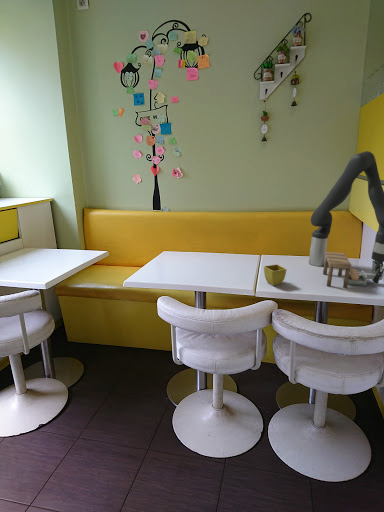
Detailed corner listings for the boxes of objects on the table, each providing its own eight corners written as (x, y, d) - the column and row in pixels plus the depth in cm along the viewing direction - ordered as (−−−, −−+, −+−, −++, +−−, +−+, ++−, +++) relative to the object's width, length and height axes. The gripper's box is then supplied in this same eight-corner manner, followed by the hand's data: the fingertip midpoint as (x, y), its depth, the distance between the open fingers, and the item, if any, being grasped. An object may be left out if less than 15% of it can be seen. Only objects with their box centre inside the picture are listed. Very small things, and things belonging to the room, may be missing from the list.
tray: (344, 277, 190) (345, 267, 188) (377, 280, 186) (379, 270, 185) (347, 284, 181) (349, 274, 179) (382, 287, 177) (384, 277, 175)
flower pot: (262, 281, 185) (263, 265, 182) (276, 279, 188) (277, 264, 185) (271, 287, 177) (272, 271, 174) (285, 285, 180) (287, 269, 177)
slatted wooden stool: (322, 273, 197) (325, 251, 193) (341, 275, 195) (344, 253, 191) (326, 286, 179) (330, 262, 175) (347, 288, 177) (351, 264, 173)
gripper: (369, 246, 184) (364, 276, 189) (376, 254, 171) (370, 286, 177) (385, 247, 182) (379, 278, 188) (392, 255, 169) (386, 287, 175)
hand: (375, 281), depth 182 cm, fingers closed on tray, 2 cm apart
